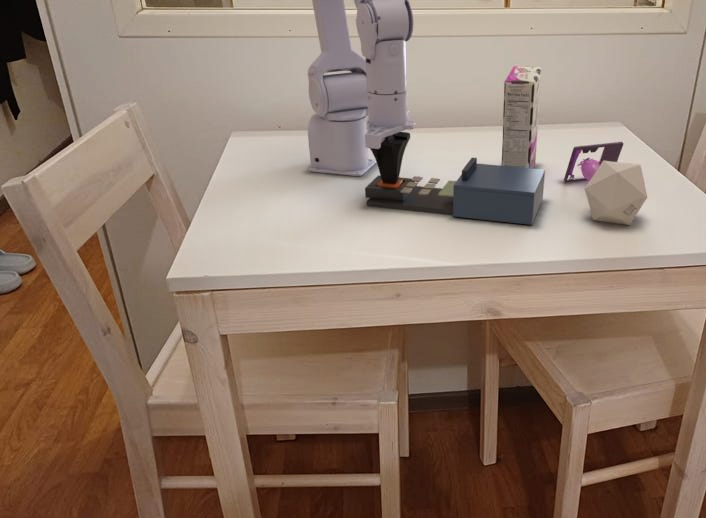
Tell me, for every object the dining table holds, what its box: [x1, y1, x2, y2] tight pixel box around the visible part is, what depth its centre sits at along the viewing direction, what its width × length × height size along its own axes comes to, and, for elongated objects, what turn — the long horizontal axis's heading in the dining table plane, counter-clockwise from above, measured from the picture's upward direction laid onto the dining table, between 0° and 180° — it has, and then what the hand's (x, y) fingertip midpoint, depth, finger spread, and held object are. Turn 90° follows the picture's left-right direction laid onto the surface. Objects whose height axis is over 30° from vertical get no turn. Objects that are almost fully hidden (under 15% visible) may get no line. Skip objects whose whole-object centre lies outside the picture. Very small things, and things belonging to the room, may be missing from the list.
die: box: [584, 161, 648, 226], centre depth 104 cm, size 8×9×10 cm
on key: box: [377, 180, 403, 188], centre depth 111 cm, size 3×3×2 cm
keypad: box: [401, 176, 457, 197], centre depth 109 cm, size 8×7×1 cm
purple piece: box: [563, 141, 625, 183], centre depth 117 cm, size 7×5×9 cm
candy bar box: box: [501, 65, 542, 169], centre depth 118 cm, size 11×5×16 cm, turn 168°
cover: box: [452, 157, 546, 226], centre depth 107 cm, size 12×10×6 cm
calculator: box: [364, 174, 453, 216], centre depth 110 cm, size 16×9×2 cm, turn 75°
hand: (390, 182), depth 111 cm, fingers closed, pressing on on key
